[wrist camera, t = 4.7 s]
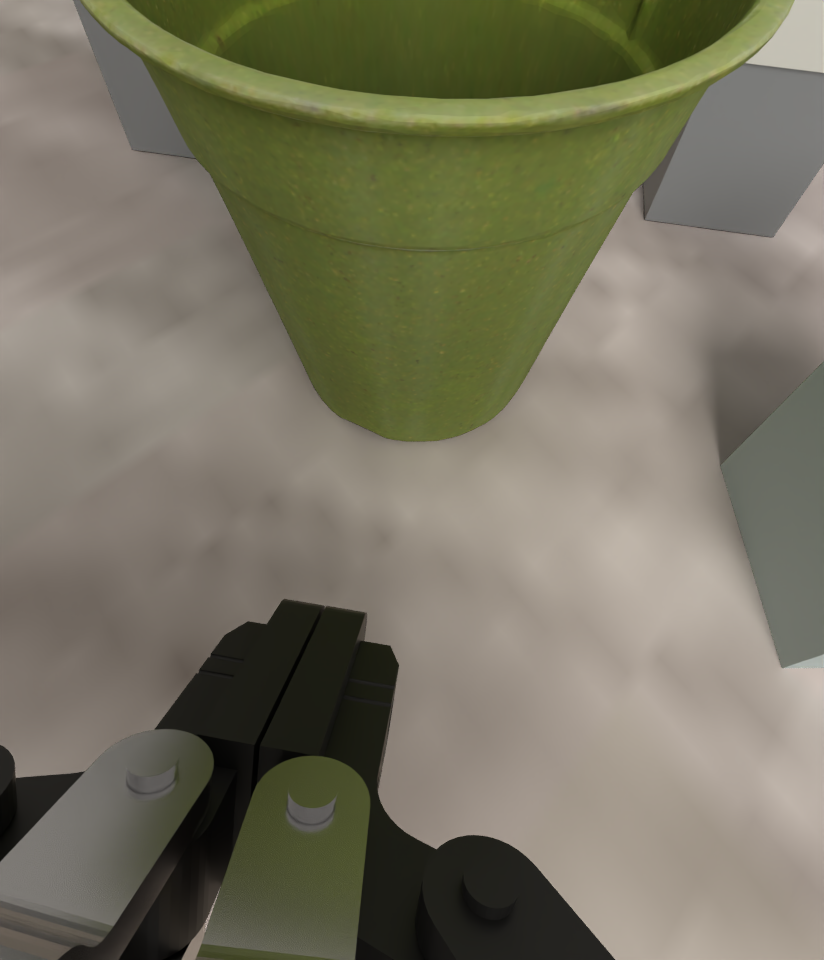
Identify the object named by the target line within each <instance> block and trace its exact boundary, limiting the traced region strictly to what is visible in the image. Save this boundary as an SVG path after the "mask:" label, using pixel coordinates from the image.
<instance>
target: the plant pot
mask: <svg viewBox="0 0 824 960" xmlns="http://www.w3.org/2000/svg"><path fill="white" fill-rule="evenodd" d="M794 1H795V0H80V2H81V3H82V5H83V6H84V7H85V8H86V10H87V11H88V12H89V13H90V15H91V16H92V17H93V18H94V19H95V20H96V21H97V22H98V23H99V25H100V26H101V27H102V28H103V29H104V30H105V31H106V32H107V33H109V34H110V35H111V36H112V37H113V38H114V39H116V40H117V41H118V42H119V43H120V44H122V45H123V46H125V47H127V48H128V49H129V50H131V51H132V52H133V53H135V54H136V55H137V56H139V57H140V58H141V59H142V61H143V63H144V65H145V67H146V69H147V70H148V72H149V74H150V76H151V78H152V80H153V82H154V83H155V85H156V87H157V89H158V91H159V93H160V95H161V97H162V99H163V101H164V102H165V104H166V106H167V108H168V110H169V112H170V114H171V116H172V118H173V120H174V122H175V124H176V126H177V128H178V130H179V132H180V134H181V136H182V137H183V139H184V141H185V143H186V145H187V146H188V148H189V150H190V151H191V152H192V154H193V155H194V157H195V158H196V159H197V160H198V161H199V162H200V164H201V165H202V166H203V167H204V168H205V169H206V170H207V171H208V172H209V173H210V175H211V177H212V179H213V181H214V183H215V185H216V187H217V189H218V191H219V192H220V194H221V196H222V198H223V201H224V203H225V205H226V207H227V209H228V211H229V213H230V215H231V217H232V219H233V221H234V223H235V225H236V227H237V229H238V231H239V233H240V235H241V237H242V239H243V241H244V243H245V245H246V247H247V249H248V251H249V253H250V255H251V257H252V260H253V262H254V264H255V266H256V268H257V270H258V272H259V274H260V276H261V278H262V281H263V283H264V285H265V287H266V289H267V291H268V293H269V295H270V297H271V299H272V301H273V303H274V305H275V307H276V309H277V311H278V313H279V315H280V318H281V320H282V322H283V324H284V326H285V328H286V330H287V332H288V334H289V336H290V338H291V340H292V342H293V345H294V347H295V349H296V351H297V353H298V355H299V357H300V359H301V361H302V363H303V366H304V368H305V370H306V372H307V374H308V376H309V378H310V380H311V382H312V384H313V386H314V388H315V390H316V391H317V393H318V394H319V396H320V397H321V399H322V400H323V401H324V402H325V403H326V404H327V406H328V407H329V408H330V409H331V410H332V411H333V412H335V413H336V414H337V415H338V416H340V417H341V418H343V419H346V420H349V421H351V422H353V423H355V424H357V425H360V426H362V427H364V428H366V429H368V430H370V431H372V432H375V433H376V434H378V435H380V436H382V437H385V438H388V439H393V440H400V441H438V440H442V439H447V438H452V437H455V436H459V435H461V434H464V433H466V432H469V431H471V430H473V429H475V428H477V427H479V426H481V425H483V424H485V423H486V422H488V421H489V420H491V419H492V418H494V417H495V416H496V415H497V414H498V413H499V412H500V411H501V410H502V409H503V408H504V407H505V406H506V405H507V404H508V402H509V401H510V400H511V399H512V397H513V396H514V395H515V393H516V392H517V390H518V389H519V387H520V385H521V384H522V382H523V381H524V379H525V377H526V376H527V374H528V372H529V370H530V369H531V367H532V365H533V363H534V362H535V360H536V358H537V356H538V355H539V353H540V351H541V349H542V347H543V346H544V344H545V342H546V340H547V339H548V337H549V335H550V333H551V332H552V330H553V328H554V327H555V325H556V323H557V321H558V320H559V318H560V316H561V314H562V313H563V311H564V309H565V307H566V306H567V304H568V302H569V300H570V299H571V297H572V295H573V294H574V292H575V290H576V288H577V287H578V285H579V283H580V281H581V280H582V278H583V276H584V275H585V273H586V271H587V270H588V268H589V266H590V264H591V263H592V261H593V259H594V258H595V256H596V254H597V253H598V251H599V249H600V248H601V246H602V244H603V242H604V241H605V239H606V237H607V236H608V234H609V232H610V231H611V229H612V227H613V225H614V224H615V222H616V220H617V219H618V217H619V215H620V214H621V212H622V210H623V209H624V207H625V205H626V203H627V202H628V200H629V198H630V197H631V195H632V193H633V192H634V191H635V190H636V189H637V188H638V187H639V186H640V185H641V184H642V183H643V182H644V181H645V180H647V179H648V178H649V177H650V175H651V174H652V173H653V172H654V171H655V170H656V168H657V167H658V166H659V164H660V163H661V162H662V161H663V159H664V158H665V156H666V154H667V153H668V151H669V150H670V148H671V146H672V145H673V143H674V141H675V140H676V138H677V137H678V135H679V133H680V132H681V130H682V128H683V127H684V125H685V124H686V122H687V120H688V119H689V117H690V116H691V114H692V112H693V111H694V109H695V108H696V106H697V104H698V103H699V101H700V100H701V98H702V96H703V95H704V93H705V92H706V90H707V89H708V87H709V86H711V85H712V84H714V83H716V82H717V81H719V80H720V79H722V78H724V77H725V76H727V75H728V74H730V73H731V72H733V71H735V70H736V69H738V68H739V67H741V66H742V65H743V64H744V63H746V62H747V61H748V60H749V59H750V58H752V57H753V56H754V55H755V54H757V53H758V52H759V51H760V50H761V49H762V48H763V47H764V45H765V44H766V43H767V42H768V41H769V40H770V39H771V38H772V37H773V36H774V34H775V33H776V31H777V30H778V29H779V27H780V26H781V24H782V23H783V21H784V20H785V19H786V17H787V16H788V14H789V12H790V10H791V7H792V5H793V3H794Z"/></svg>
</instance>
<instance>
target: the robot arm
mask: <svg viewBox="0 0 824 960" xmlns="http://www.w3.org/2000/svg"><path fill="white" fill-rule="evenodd" d="M366 623H367V613H365V612H359V611H353V610H348V609H342V608H336V607H330V606H326V608H325V606H323V605H318V604H312V603H306V602H300V601H294V600H288V599H283V600H282V601H281V603H280V604H279V606H278V608H277V609H276V611H275V612H274V614H273V615H272V617H271V619H270V620H269V622H268V623H267V625H266V624H260V623H255V622H249V621H248V622H246V623H245V624H243V625H241V626H239V627H238V628H236V629H234V630H233V631H231V632H229V633H228V634H226V635H225V636H224V637H223V638H222V640H221V641H220V642H219V644H218V645H217V646H216V648H215V649H214V650H213V652H212V653H211V656H210V658H209V657H208V658H207V660H206V661H205V662H204V664H203V665H202V666H201V668H200V669H199V673H198V674H197V673H196V675H195V676H194V677H193V679H192V680H191V681H190V683H189V684H188V685H187V687H186V688H185V689H184V691H183V692H182V693H181V695H180V696H179V697H178V699H177V700H176V701H175V703H174V704H173V705H172V707H171V708H170V709H169V711H168V712H167V713H166V715H165V716H164V717H163V719H162V720H161V721H160V723H159V724H158V726H157V727H156V728H155V730H150V731H145V732H141V733H138V734H135V735H132V736H130V737H127V738H125V739H123V740H121V741H119V742H117V743H116V744H114V745H113V746H111V747H110V748H108V749H107V750H106V751H105V752H104V753H103V754H102V755H100V756H99V758H98V759H97V760H96V761H95V762H94V763H93V764H92V765H91V766H90V767H89V768H88V769H87V770H86V771H85V772H79V773H71V774H60V775H47V776H35V777H22V778H16V777H15V763H14V759H13V756H12V755H11V753H10V752H9V751H8V750H7V749H6V748H4V747H3V746H1V745H0V960H615V959H614V958H613V957H612V955H611V954H610V953H609V952H608V951H607V949H606V948H605V947H604V946H603V945H602V944H601V942H600V941H599V940H598V939H597V938H596V937H595V935H594V934H593V933H592V932H591V931H590V929H589V928H588V927H587V926H586V925H585V924H584V922H583V921H582V920H581V919H580V918H579V917H578V915H577V914H576V913H575V912H574V911H573V909H572V908H571V907H570V906H569V905H568V904H567V902H566V901H565V900H564V899H563V898H562V896H561V895H560V894H559V893H558V892H557V891H556V889H555V888H554V887H553V886H552V885H551V884H550V882H549V881H548V880H547V879H546V878H545V876H544V875H543V874H542V873H541V872H540V871H539V869H538V868H537V867H536V866H535V865H534V864H533V863H532V862H531V861H530V860H529V859H528V858H527V857H526V856H525V855H524V854H522V853H521V852H520V851H519V850H517V849H515V848H514V847H512V846H510V845H509V844H507V843H504V842H502V841H500V840H497V839H494V838H490V837H486V836H479V835H468V836H462V837H457V838H455V839H452V840H449V841H447V842H446V843H444V844H443V845H441V846H440V847H439V848H438V849H437V850H436V849H434V848H433V847H431V846H429V845H427V844H425V843H423V842H421V841H419V840H417V839H415V838H414V837H412V836H410V835H409V834H407V833H406V832H404V831H403V830H402V829H401V828H399V827H398V826H397V825H396V824H395V823H394V822H393V821H392V820H391V819H390V817H389V816H388V814H387V813H386V812H385V810H384V808H383V806H382V804H381V802H380V799H379V795H378V788H379V782H380V777H381V772H382V766H383V761H384V755H385V750H386V745H387V739H388V733H389V726H390V720H391V713H392V707H393V700H394V694H395V687H396V681H397V674H398V668H399V664H398V662H397V660H396V658H395V655H394V653H393V651H392V649H391V646H388V645H382V644H377V643H371V642H365V641H364V638H365V631H366ZM221 884H222V885H221ZM220 887H221V888H220ZM219 889H220V891H219ZM218 891H219V894H218ZM217 894H218V897H217V900H216V903H215V906H214V908H213V911H212V914H211V917H210V920H209V923H208V926H207V929H206V932H205V921H206V919H207V917H208V915H209V912H210V910H211V908H212V905H213V903H214V901H215V898H216V896H217Z"/></svg>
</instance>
